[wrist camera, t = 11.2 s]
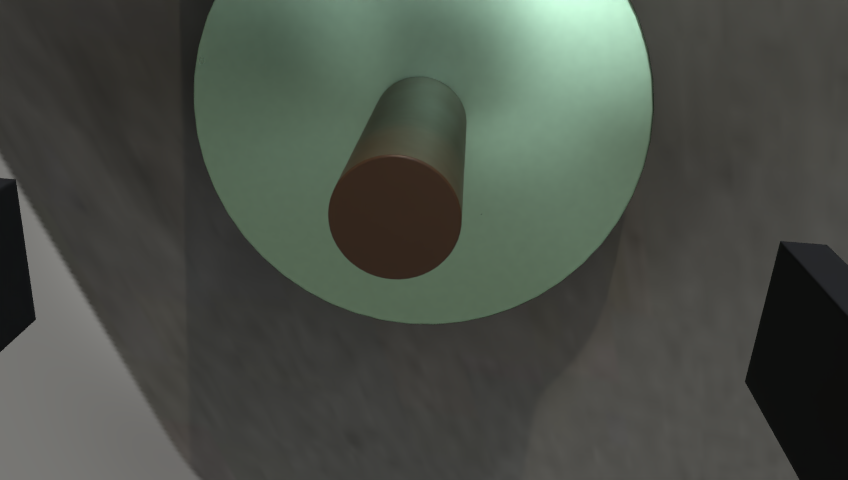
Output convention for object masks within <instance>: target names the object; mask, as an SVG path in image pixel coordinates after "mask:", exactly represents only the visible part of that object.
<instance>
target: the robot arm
mask: <svg viewBox="0 0 848 480" xmlns="http://www.w3.org/2000/svg"><path fill="white" fill-rule="evenodd" d="M35 320H36V318H35V311H34V304H33V297H32V290H31V284H30V276H29V269H28V262H27V255H26V249H25V241H24V234H23V227H22V220H21V213H20V206H19V199H18V192H17V185H16V179H3V178H0V352H1V351H2V350H3V349H4V348H5V347H6V346H7V345H8V344H9V343H10V342H12V341H13V340H14V339H15V338H16V337H17V336H18V335H19V334H20V333H21V332H23V331H24V330H25V329H26V328H27V327H28V326H29V325H30V324H31V323H32V322H33V321H35ZM745 382H746V384H747V386H748V388H749V390H750V391H751V393H752V395H753V397H754V399H755V400H756V402H757V404H758V406H759V408H760V409H761V411H762V413H763V415H764V417H765V418H766V420H767V422H768V424H769V426H770V427H771V429H772V431H773V433H774V435H775V436H776V438H777V440H778V442H779V444H780V445H781V447H782V449H783V451H784V453H785V454H786V456H787V458H788V460H789V462H790V463H791V465H792V467H793V469H794V471H795V472H796V474H797V476H798V478H799V480H848V265H847V264H846V263H845V262H844V261H843V260H842V259H841V258H840V257H839V256H838V255H837V254H836V253H835V252H834V251H833V250H832V249H831V248H829V247H828V246H827V245H821V244H809V243H796V242H784V241H780V245H779V249H778V253H777V257H776V261H775V265H774V269H773V273H772V277H771V281H770V285H769V289H768V293H767V296H766V300H765V304H764V308H763V312H762V316H761V320H760V324H759V328H758V332H757V336H756V340H755V344H754V348H753V352H752V356H751V360H750V364H749V368H748V372H747V376H746V380H745Z"/></svg>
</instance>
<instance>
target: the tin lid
mask: <svg viewBox="0 0 848 480" xmlns="http://www.w3.org/2000/svg"><path fill="white" fill-rule="evenodd" d="M194 112H195V120H196V129H197V135H198V139H199V143H200V147H201V151H202V155H203V159H204V163H205V166H206V168H207V171H208V173H209V176H210V178H211V181H212V184H213V186H214V189H215V191H216V192H217V194H218V196H219V198H220V200H221V202H222V204H223V205H224V207H225V209H226V211H227V213H228V215H229V216H230V217H231V219H232V220H233V222H234V223H235V224H236V226H237V227H238V229H239V230H240V232H241V233H242V234H243V236H244V237H245V238H246V239H247V240H248V241H249V243H250V244H251V245H252V246H253V247H254V248H255V249H256V250H257V251H258V253H259V254H260V255H261V256H262V257H263V258H264V259H265V260H267V261H268V262H269V263H270V264H271V265H272V266H273V267H275V268H276V269H277V270H278V271H279V272H280V273H281V274H283V275H284V276H285V277H287V278H288V279H290V280H291V281H293V282H294V283H295V284H297V285H298V286H300V287H301V288H303V289H304V290H306V291H308V292H309V293H311V294H313V295H315V296H317V297H319V298H321V299H323V300H325V301H326V302H328V303H330V304H333V305H336V306H338V307H341V308H343V309H346V310H348V311H351V312H354V313H357V314H360V315H364V316H368V317H372V318H376V319H380V320H385V321H392V322H399V323H406V324H445V323H456V322H464V321H469V320H473V319H478V318H483V317H488V316H491V315H494V314H497V313H500V312H503V311H506V310H509V309H512V308H514V307H516V306H519V305H521V304H523V303H525V302H527V301H529V300H531V299H533V298H535V297H538V296H539V295H541V294H542V293H544V292H546V291H547V290H549V289H550V288H552V287H553V286H555V285H557V284H558V283H560V282H561V281H563V280H564V279H565V278H566V277H567V276H569V275H570V274H571V273H572V272H574V271H575V270H576V269H577V268H578V267H580V266H581V265H582V264H583V263H584V262H585V261H586V260H587V259H588V258H589V257H590V256H591V255H592V254H593V253H594V252H595V251H596V250H597V248H598V247H599V246H600V245H601V244H602V243H603V242H604V240H605V239H606V238H607V236H608V235H609V234H610V232H611V231H612V230H613V228H614V227H615V225H616V224H617V223H618V221H619V220H620V218H621V216H622V214H623V213H624V211H625V209H626V207H627V205H628V204H629V202H630V200H631V198H632V196H633V194H634V192H635V189H636V186H637V184H638V181H639V179H640V176H641V174H642V171H643V169H644V165H645V161H646V157H647V153H648V149H649V145H650V140H651V132H652V123H653V114H654V93H653V75H652V69H651V63H650V57H649V51H648V47H647V44H646V40H645V37H644V34H643V31H642V27H641V24H640V21H639V18H638V16H637V14H636V12H635V10H634V7H633V5H632V3H631V1H630V0H214V2H213V4H212V7H211V9H210V11H209V13H208V16H207V18H206V22H205V25H204V29H203V32H202V36H201V39H200V43H199V46H198V53H197V60H196V66H195V73H194Z"/></svg>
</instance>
